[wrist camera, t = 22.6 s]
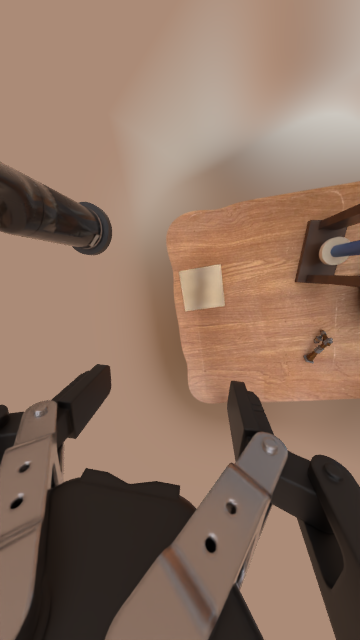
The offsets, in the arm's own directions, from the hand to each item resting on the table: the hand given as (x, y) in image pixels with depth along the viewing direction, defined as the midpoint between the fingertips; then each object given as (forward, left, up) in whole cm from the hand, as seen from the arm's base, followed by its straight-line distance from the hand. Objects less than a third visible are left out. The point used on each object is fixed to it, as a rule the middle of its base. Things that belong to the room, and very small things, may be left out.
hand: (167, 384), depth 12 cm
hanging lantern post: (+29, +7, -36) cm, 47 cm away
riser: (-1, +4, -35) cm, 36 cm away
